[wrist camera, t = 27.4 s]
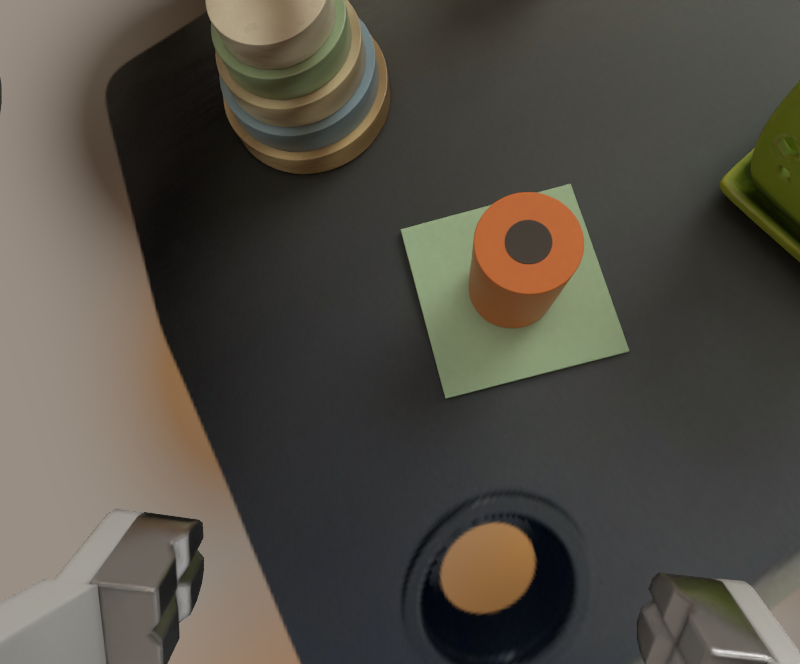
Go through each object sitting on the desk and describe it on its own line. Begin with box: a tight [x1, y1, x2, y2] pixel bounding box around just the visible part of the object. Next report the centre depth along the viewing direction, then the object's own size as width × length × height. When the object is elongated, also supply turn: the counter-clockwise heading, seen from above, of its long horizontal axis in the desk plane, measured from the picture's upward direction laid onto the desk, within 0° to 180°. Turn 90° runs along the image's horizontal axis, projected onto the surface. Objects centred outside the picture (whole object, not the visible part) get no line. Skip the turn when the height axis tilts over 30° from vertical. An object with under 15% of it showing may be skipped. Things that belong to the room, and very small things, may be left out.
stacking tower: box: [206, 0, 391, 174], centre depth 35 cm, size 12×12×10 cm
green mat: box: [401, 184, 629, 399], centre depth 35 cm, size 12×12×1 cm
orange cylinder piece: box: [469, 192, 584, 328], centre depth 31 cm, size 6×6×8 cm
